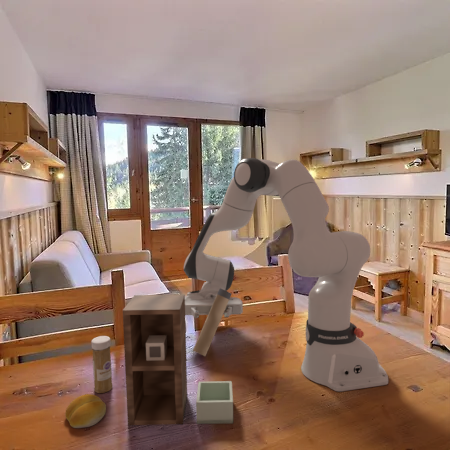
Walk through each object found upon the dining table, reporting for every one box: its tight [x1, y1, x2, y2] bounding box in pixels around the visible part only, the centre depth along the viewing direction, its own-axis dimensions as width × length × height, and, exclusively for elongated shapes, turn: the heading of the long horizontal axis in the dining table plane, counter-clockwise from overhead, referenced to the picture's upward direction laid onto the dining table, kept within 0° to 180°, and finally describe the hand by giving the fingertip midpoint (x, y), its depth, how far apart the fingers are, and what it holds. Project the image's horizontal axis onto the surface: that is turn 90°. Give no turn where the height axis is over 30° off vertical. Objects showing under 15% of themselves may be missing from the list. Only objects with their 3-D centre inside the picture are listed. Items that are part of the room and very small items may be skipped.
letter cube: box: [146, 335, 167, 361], centre depth 78 cm, size 4×4×4 cm
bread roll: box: [64, 393, 107, 429], centre depth 78 cm, size 8×9×4 cm
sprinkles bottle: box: [90, 335, 113, 394], centre depth 88 cm, size 5×5×14 cm
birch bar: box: [192, 288, 232, 357], centre depth 107 cm, size 4×20×4 cm
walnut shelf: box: [122, 294, 188, 426], centre depth 79 cm, size 12×10×26 cm
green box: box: [195, 380, 234, 425], centre depth 79 cm, size 8×8×5 cm
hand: (211, 315), depth 106 cm, fingers open, 8 cm apart
